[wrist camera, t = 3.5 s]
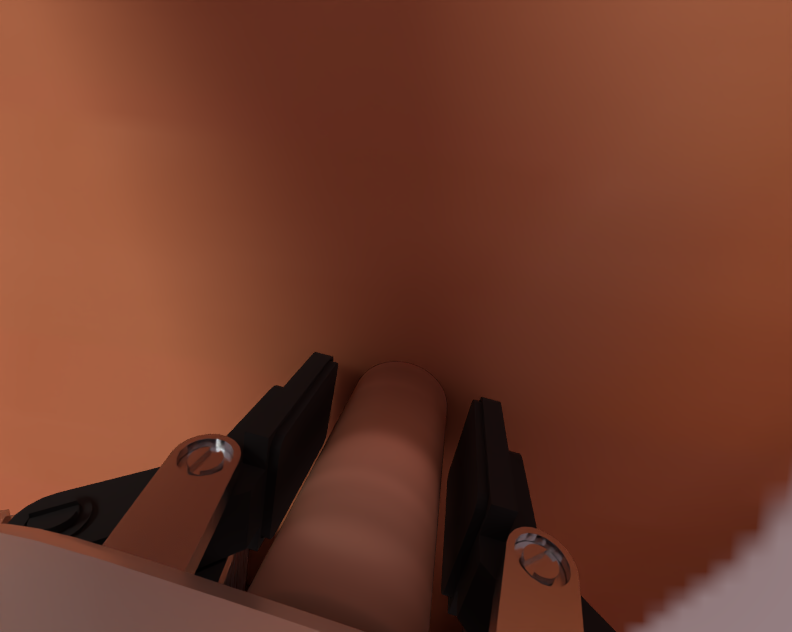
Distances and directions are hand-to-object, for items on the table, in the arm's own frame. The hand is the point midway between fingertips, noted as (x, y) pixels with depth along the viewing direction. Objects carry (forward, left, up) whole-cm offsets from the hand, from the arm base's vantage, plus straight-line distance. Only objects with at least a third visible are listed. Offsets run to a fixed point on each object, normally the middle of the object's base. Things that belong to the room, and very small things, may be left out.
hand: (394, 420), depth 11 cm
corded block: (+8, 0, -1) cm, 8 cm away
